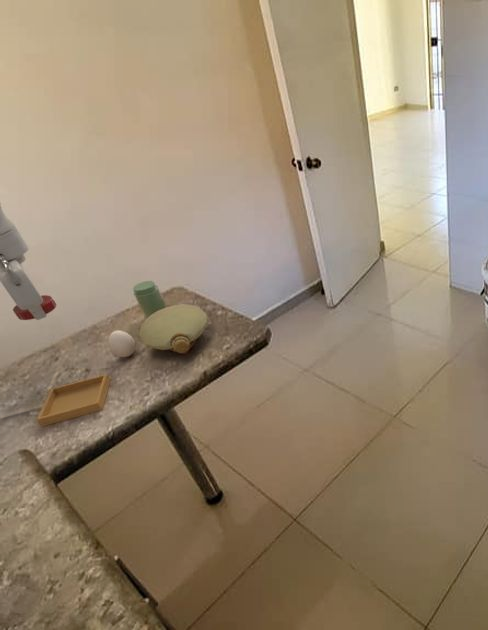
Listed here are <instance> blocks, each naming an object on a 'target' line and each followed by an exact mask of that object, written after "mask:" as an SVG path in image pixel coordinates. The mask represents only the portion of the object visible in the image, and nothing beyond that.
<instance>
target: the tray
mask: <svg viewBox="0 0 488 630" xmlns="http://www.w3.org/2000/svg"><path fill="white" fill-rule="evenodd" d="M111 381H112V379H111V378H110V377H109V374H107V373H104V374H100V375H97V376H93V377H89V378H85V379H82V380H77V381H73V382H69V383H66V384H63V385H59V386H55V387H51V388H50V390H49V392H48V394H47V396H46V398H45V401H44V403H43V405H42V407H41V409H40V411H39V413H38V416H37V418H36V421H37V422H38V424H39V425H40V426H41V427H43V428H44V427H46V426H49V425H53V424H56V423H57V424H58V423H60V422H64V421H68V420H71V419H74V418H78V417H81V416H86V415H88V414H92V413H95V412H98V411H102V410H103V408H104V405H105V401H106V398H107V395H108V392H109V388H110V384H111Z"/></svg>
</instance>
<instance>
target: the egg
mask: <svg viewBox="0 0 488 630" xmlns="http://www.w3.org/2000/svg"><path fill="white" fill-rule="evenodd" d="M107 344H108V347H109V350H110V352H111V353H112V354H113V355H115V356H117V357H119V358H128V357H130V356H132V355H133V354H134V353H135V351H136V341H135V340H134V338H133V337H132V335H130V334H129V333H128V332H126V331H124V330H114V331H112V332H111V333H110V334H109V336H108V340H107Z"/></svg>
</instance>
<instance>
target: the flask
mask: <svg viewBox="0 0 488 630" xmlns="http://www.w3.org/2000/svg"><path fill="white" fill-rule="evenodd" d="M207 327H208V313H206V312H205V311H204V310H203V309H202V308H200V307H199V306H198V305H195V304H186V303H181V304H174V305H173V304H172V305H170V306H167V307H166V308H164V309H161V310H159V311H157V312H155V313H154V314H152V315H151V316H149V317H148V318H147V319H146V318H145V320H144V321H143V322H142V323H141V324H140V327H139V328H140V329H139V339H140V340H141V342H142V343H143V344H145V345H146V346H147V347H148V348H152V349H155V350H163V351H166V350H169V351H172V352H175V353H179V354H182V355H186V354H188V353H189V351H190V349H191V348H192V347H193V346H194V344H195V343H196V341H197V339H198V338H199V337H200V336H201V335H202V333H203V332H204V331H205V330H206V329H207Z"/></svg>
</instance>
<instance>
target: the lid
mask: <svg viewBox="0 0 488 630" xmlns="http://www.w3.org/2000/svg"><path fill="white" fill-rule="evenodd" d="M41 297H42V299H43V303H42V304H40V305H41V307H42V309H43V311H44V312H45V314H46V315H48V314H49V313H51V312H53V311H54V310H55V308H56V307H57V303H56V301H55V300H54V299H53V297H52V296H51V295H47V294H45V295H41ZM12 311H13V313H14V314H15V316H16V318H18V319H19V320H20V321H31V320H34V319H35V318H34V316H33V315H32V314H31V312H30V311H29V310H28V309H26V310H21V309H20V308H19V307H18V306H17V305H16V304H15V305H14V307H13V308H12ZM35 320H36V319H35Z"/></svg>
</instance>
